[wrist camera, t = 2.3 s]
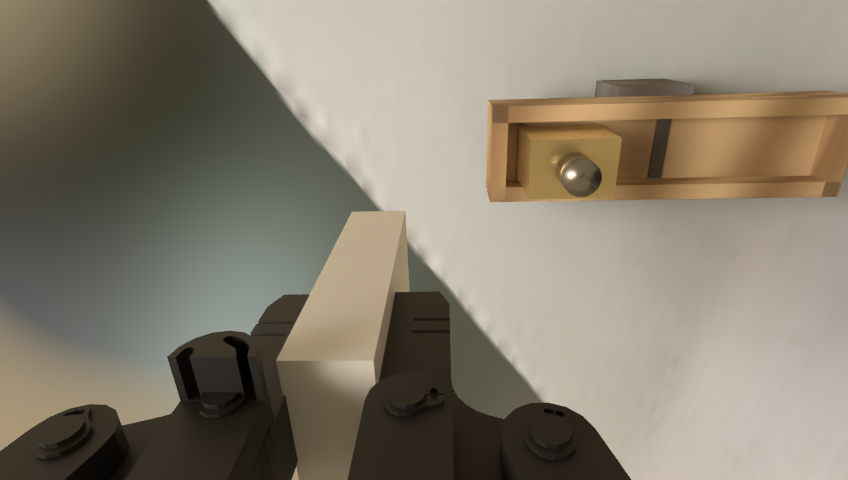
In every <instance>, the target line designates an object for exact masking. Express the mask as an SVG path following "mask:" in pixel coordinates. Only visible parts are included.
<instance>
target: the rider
mask: <svg viewBox="0 0 848 480" xmlns="http://www.w3.org/2000/svg"><path fill="white" fill-rule="evenodd" d="M621 142H622V138H621V137H619V136H618V135H616V134H614V133H612V132H611V131H609V130H607V129H605V128H604V127H602V126H600V125H599V124H597V123H570V124H529V125H519V131H518V151H517V172H516V177H517V179H518V181H519V183H520V185H521V187H522V189H523V191H524V193H525V195H526V196H527V198H528V199H576V198H614V193H615V186H616V179H617V171H618V164H619V157H620V150H621Z"/></svg>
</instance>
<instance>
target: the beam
mask: <svg viewBox="0 0 848 480" xmlns="http://www.w3.org/2000/svg"><path fill="white" fill-rule="evenodd" d="M694 87H695V85H693V84H688V83H682V82H677V81H672V80H667V79H637V80H602V81H597V84H596V93H595V97H588V98H551V99H514V100H488V133H487V178H486V188H487V192H488V195H489V199H490V202H519V201H582V200H645V199H708V198H771V197H834V196H837V195H838V192H839V189H840V186H841V183H842V180H843V177H844V174H845V171H846V168H847V165H848V94H846V93H839V92H832V91H808V92H772V93H735V94H698V95H693V92H694ZM570 123H597V124H599V125H600V126H602V127H604V128H605V129H607V130H609V131H611V132H612V133H614V134H616V135H618V136H619V137H621V138H622V142H621V150H620V157H619V164H618V171H617V179H616V186H615V193H614V198H576V199H528V198H527V196H526V195H525V193H524V191H523V189H522V187H521V185H520V183H519V181H518V179H517V177H516V172H517V151H518V131H519V125H529V124H570Z"/></svg>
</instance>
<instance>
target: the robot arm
mask: <svg viewBox="0 0 848 480" xmlns="http://www.w3.org/2000/svg"><path fill="white" fill-rule="evenodd" d="M167 358H168V361H169V364H170V367H171V371H172V374H173V377H174V380H175V383H176V387H177V390H178V393H179V397H180V400H181V401H180V402H179V404H178V405H177V407H176V408H175V410H174V411H173V412H172V414H169V415H166V416H163V417H158V418H154V419H150V420H145V421H141V422H136V423H132V424H128V425H123V426H122V425H121V423H120V420H119V417H118V415H117V412H116V410H115V409H113V408H111V407H109V406H106V405H94V404H90V405H85V406H80V407H76V408H71V409H68V410H66V411H63V412H61V413H58V414H56V415H54V416H51V417H50V418H48V419H46V420H44V421H43V422H41V423H39V424H38V425H36V426H35V427H33V428H31V429H30V430H28V431H27V432H26V433H24V434H23V435H22V436H20V437H19V438H18V439H16V440H15V441H14V442H12V443H11V444H9V445H8V446H7V447H5V448H4V449H3V450H1V451H0V480H291V479H292V476H293V473H294V471H295V468H296V466H297V471H298V476H299V480H631V479H630V477H629V476H628V474H627V473H626V472H625V470H624V469H623V467H622V466H621V464H620V463H619V462H618V460H617V459H616V457H615V456H614V455H613V453H612V452H611V450H610V449H609V448H608V446H607V445H606V443H605V442H604V440H603V439H602V438H601V436H600V435H599V433H598V432H597V431H596V429H595V428H594V427H593V426H592V425H591V424H590V423H589V422H588V421H587V420H586V419H585V418H584V417H583V416H581V415H580V414H578V413H576V412H574V411H572V410H570V409H569V408H567V407H563V406H559V405H555V404H551V403H530V404H527V405H524V406H521V407H519V408H516V409H515V410H514V411H512V412H511V413H510V414H509V415H508V416H507V417H506V418H505V419H501V418H497V417H493V416H489V415H486V414H484V413H481V412H478V411H476V410H474V409H472V408H471V407H469V406H467V405H466V404H464V402H463V401H461V400H460V399H459V398H458V397H457V395H456V393H455V391H454V390H453V387H452V382H451V358H450V318H449V303H448V302H447V300H446V299H445V298H444V297H443V295H442V294H441V293H440V292H409V276H408V256H407V236H406V216H405V211H377V212H352V213H351V215H350V217H349V219H348V221H347V223H346V225H345V227H344V229H343V231H342V233H341V235H340V237H339V239H338V240H337V242H336V244H335V246H334V249H333V250H332V252H331V254H330V256H329V258H328V260H327V262H326V264H325V266H324V268H323V270H322V272H321V274H320V276H319V278H318V280H317V282H316V284H315V286H314V288H313V289H312V291H311V293H310V295H283V296H282V297H281V298H279V299H278V300H276V301H275V302H274V303H273V304H271V305H270V306H268V307H267V309H266V310H265V312H264V313H263V315H262V316H261V318H260V319H259V323H258V324H256V326H255V327H254V329H253V330H252V332H251V336H250V335H248V334H246V333H243V332H235V331H224V332H216V333H211V334H207V335H204V336H201V337H198V338H195V339H193V340H191V341H189V342H187V343H185V344H184V345H182V346H180V347H179V348H178V349H176V350H175V351H174V352H173V353H172V354H170V355H169V356H168V357H167Z"/></svg>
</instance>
